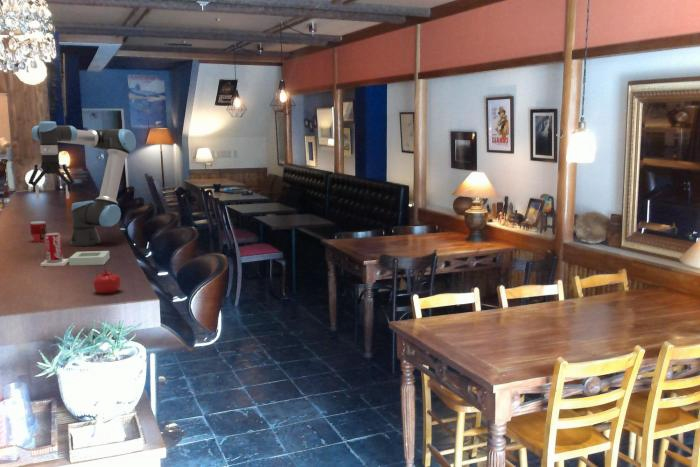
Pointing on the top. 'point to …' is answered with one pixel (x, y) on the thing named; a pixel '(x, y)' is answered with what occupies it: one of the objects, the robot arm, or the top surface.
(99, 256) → the holder
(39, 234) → the canned food
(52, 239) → the soda can
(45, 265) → the tile
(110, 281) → the pomegranate
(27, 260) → the top surface
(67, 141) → the robot arm
